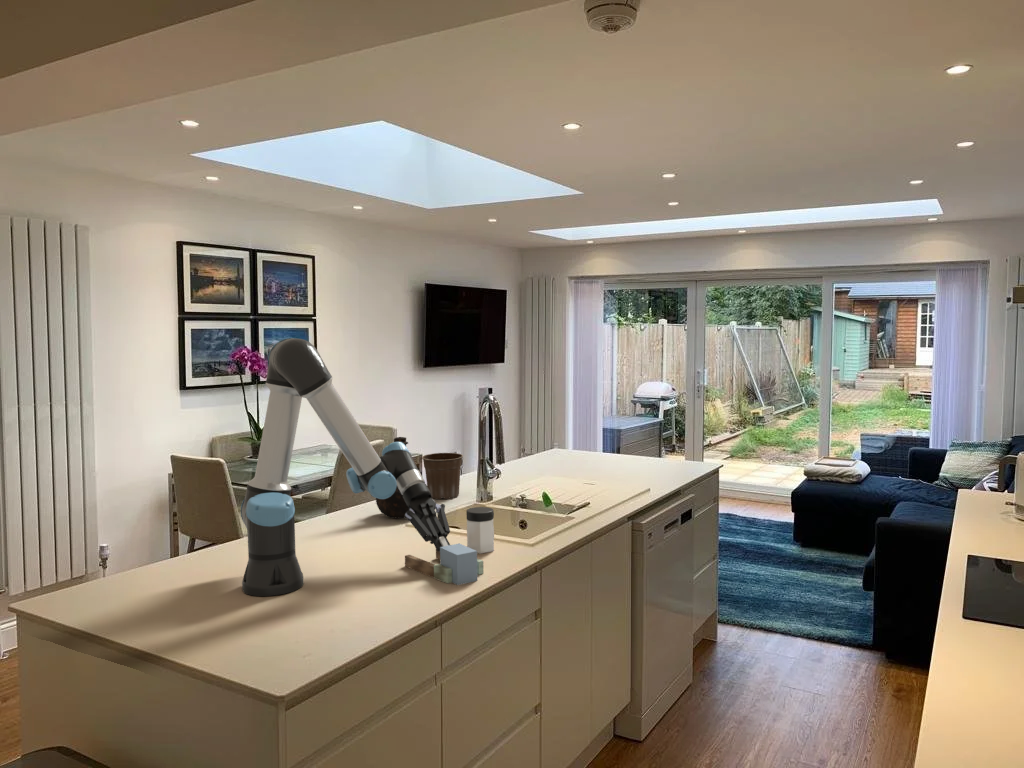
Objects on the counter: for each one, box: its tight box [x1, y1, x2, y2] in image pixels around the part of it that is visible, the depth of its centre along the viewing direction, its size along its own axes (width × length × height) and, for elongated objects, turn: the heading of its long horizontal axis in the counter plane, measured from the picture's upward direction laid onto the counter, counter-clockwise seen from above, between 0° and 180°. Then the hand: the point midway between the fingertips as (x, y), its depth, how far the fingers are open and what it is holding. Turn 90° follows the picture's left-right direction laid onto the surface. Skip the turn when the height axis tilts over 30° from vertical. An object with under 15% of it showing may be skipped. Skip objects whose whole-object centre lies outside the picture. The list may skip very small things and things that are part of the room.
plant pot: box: [421, 452, 464, 500], centre depth 303 cm, size 16×16×16 cm
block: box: [439, 543, 478, 586], centre depth 202 cm, size 9×6×8 cm, turn 35°
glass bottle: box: [375, 436, 409, 519], centre depth 271 cm, size 18×18×28 cm
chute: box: [404, 548, 484, 584], centre depth 210 cm, size 20×12×4 cm, turn 41°
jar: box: [465, 506, 495, 555], centre depth 229 cm, size 9×8×12 cm
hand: (449, 559), depth 208 cm, fingers closed
